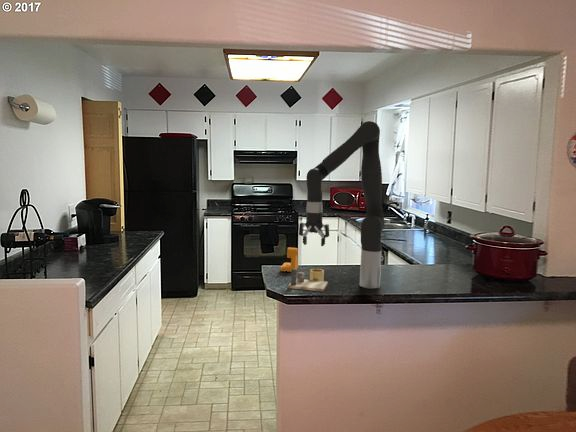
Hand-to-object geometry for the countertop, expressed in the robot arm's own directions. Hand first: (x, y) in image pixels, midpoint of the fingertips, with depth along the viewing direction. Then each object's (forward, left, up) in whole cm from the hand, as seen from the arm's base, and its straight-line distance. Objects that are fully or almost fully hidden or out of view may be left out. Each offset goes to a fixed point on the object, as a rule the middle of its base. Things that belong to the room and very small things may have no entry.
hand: (313, 245), depth 216 cm
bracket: (+15, -14, -18) cm, 27 cm away
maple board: (0, +10, -17) cm, 20 cm away
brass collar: (-2, 0, -17) cm, 17 cm away
